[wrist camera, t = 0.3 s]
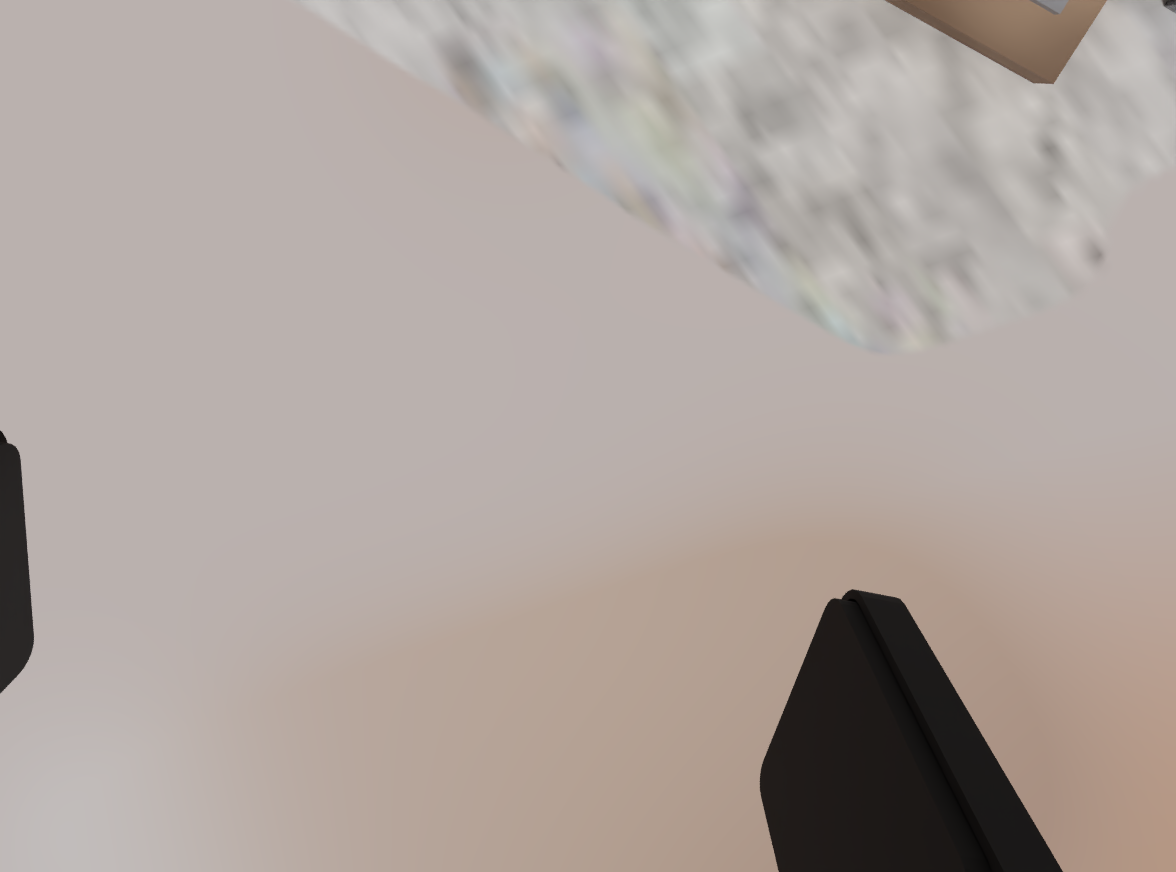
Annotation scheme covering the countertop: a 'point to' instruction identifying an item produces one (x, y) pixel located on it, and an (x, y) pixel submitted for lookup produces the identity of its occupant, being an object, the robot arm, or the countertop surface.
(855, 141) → the countertop surface
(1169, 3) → the column
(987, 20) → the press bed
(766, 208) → the countertop surface
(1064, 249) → the countertop surface
